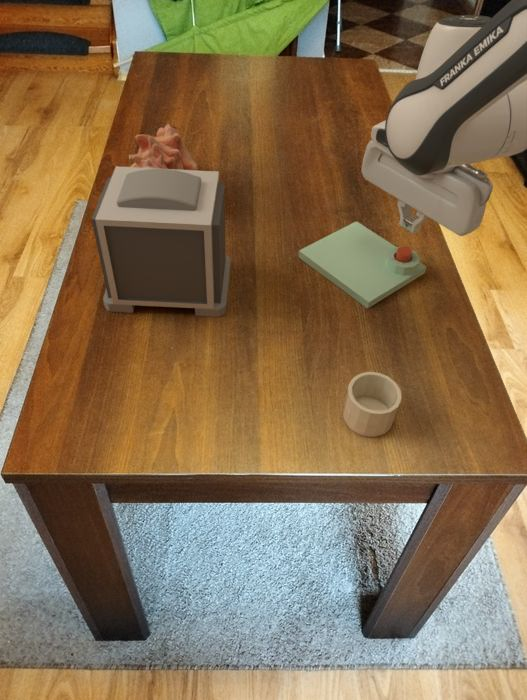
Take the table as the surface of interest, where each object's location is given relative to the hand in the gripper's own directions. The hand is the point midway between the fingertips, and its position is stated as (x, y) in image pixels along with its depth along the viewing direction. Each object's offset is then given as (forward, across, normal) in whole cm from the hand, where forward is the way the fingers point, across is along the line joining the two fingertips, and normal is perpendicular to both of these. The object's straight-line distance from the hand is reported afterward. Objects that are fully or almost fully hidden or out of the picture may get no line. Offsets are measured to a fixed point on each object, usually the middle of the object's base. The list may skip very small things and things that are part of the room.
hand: (408, 228), depth 89 cm
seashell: (+9, +42, +18) cm, 47 cm away
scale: (+9, +5, +4) cm, 10 cm away
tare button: (+6, 0, 0) cm, 6 cm away
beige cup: (+8, -17, +26) cm, 32 cm away
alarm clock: (+9, +20, +32) cm, 38 cm away
